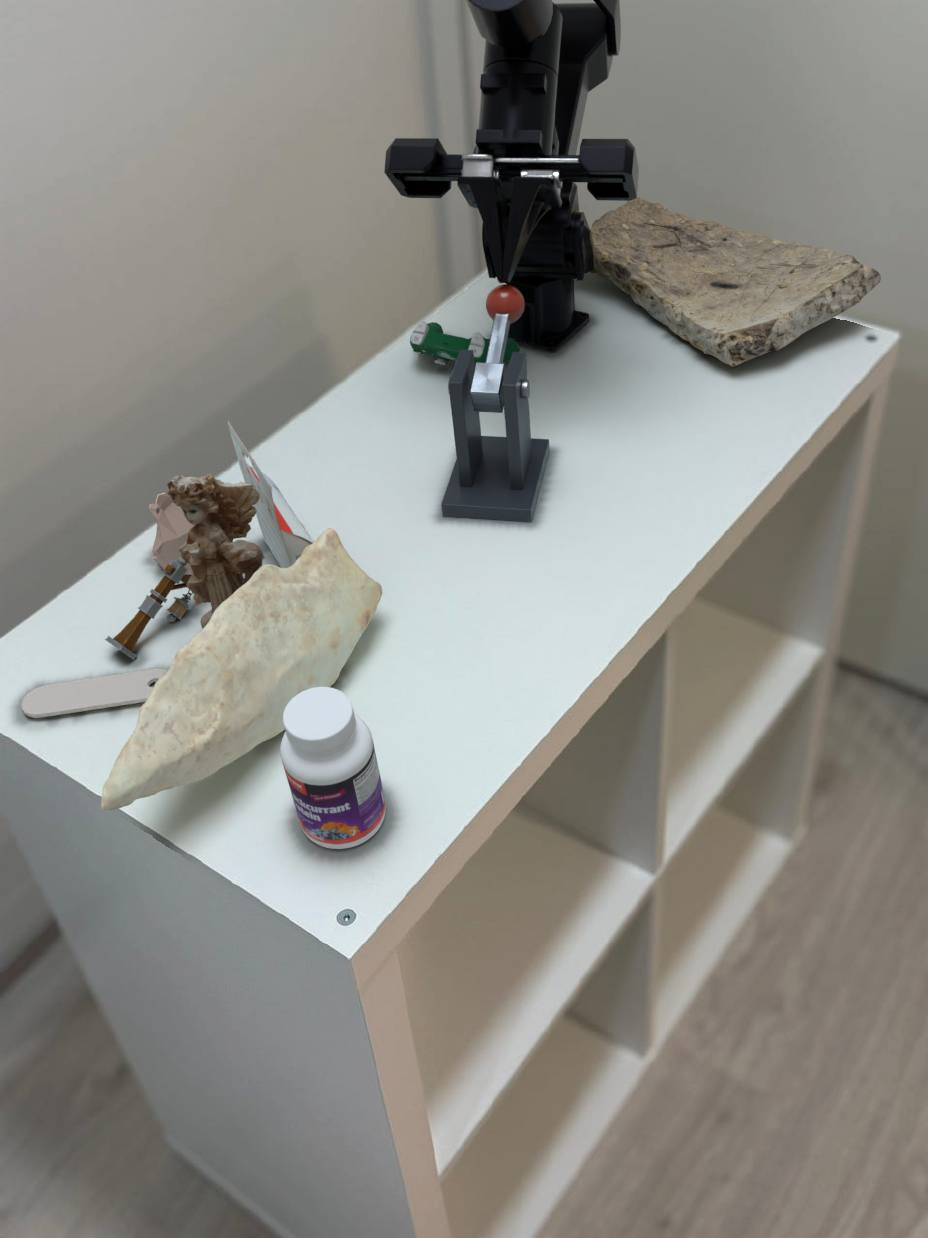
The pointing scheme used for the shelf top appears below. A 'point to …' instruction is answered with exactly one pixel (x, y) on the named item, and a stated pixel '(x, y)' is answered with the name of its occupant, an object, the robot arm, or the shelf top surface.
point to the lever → (496, 349)
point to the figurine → (216, 536)
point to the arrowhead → (246, 670)
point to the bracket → (494, 450)
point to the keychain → (90, 693)
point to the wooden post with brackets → (155, 607)
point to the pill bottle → (331, 769)
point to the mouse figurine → (169, 531)
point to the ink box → (273, 511)
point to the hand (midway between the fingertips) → (503, 281)
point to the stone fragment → (724, 279)
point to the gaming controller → (453, 344)
